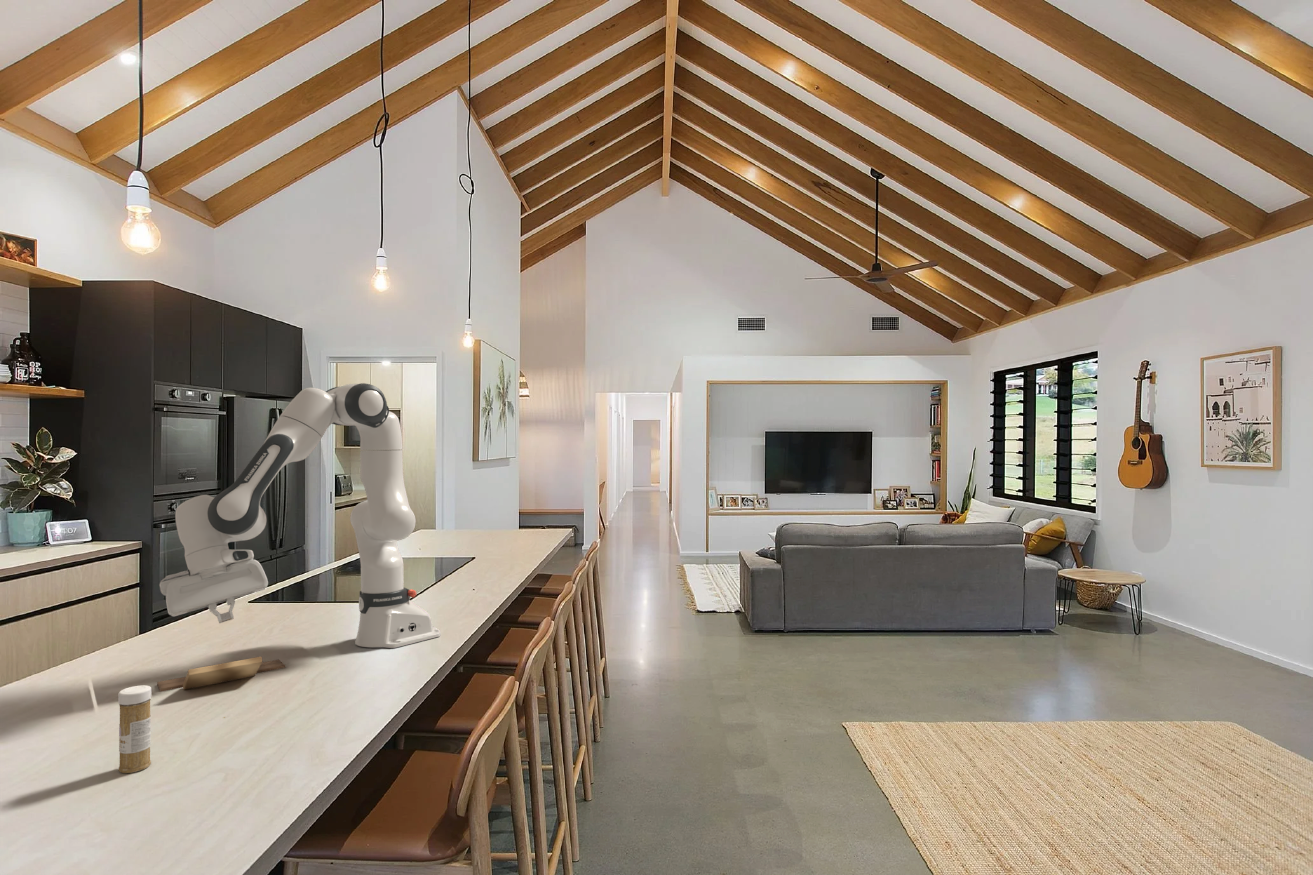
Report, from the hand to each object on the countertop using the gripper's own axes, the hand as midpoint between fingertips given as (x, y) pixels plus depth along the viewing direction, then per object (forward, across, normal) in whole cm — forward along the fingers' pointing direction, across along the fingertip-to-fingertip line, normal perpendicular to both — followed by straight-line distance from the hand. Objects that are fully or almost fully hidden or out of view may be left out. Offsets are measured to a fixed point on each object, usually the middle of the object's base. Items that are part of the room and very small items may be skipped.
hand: (226, 620), depth 165 cm
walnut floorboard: (+11, -3, +9) cm, 15 cm away
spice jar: (+24, -22, -33) cm, 46 cm away
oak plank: (+12, -3, 0) cm, 12 cm away
